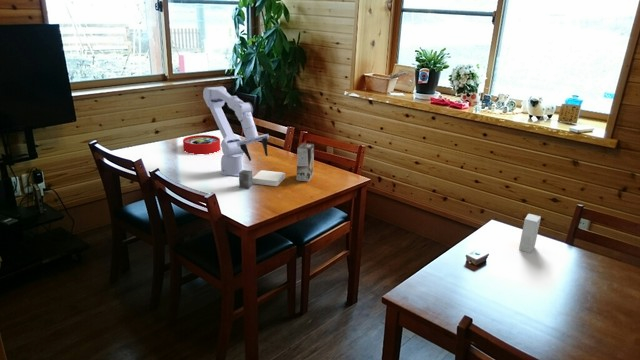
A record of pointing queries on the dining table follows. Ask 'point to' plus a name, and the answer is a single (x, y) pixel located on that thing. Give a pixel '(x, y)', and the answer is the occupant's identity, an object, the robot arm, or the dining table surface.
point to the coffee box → (305, 162)
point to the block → (245, 179)
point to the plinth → (268, 178)
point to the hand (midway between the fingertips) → (258, 158)
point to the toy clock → (201, 144)
